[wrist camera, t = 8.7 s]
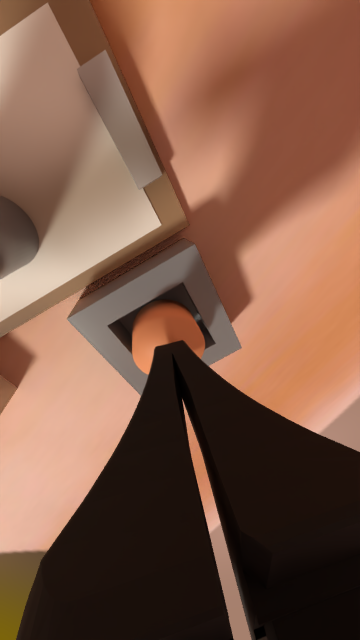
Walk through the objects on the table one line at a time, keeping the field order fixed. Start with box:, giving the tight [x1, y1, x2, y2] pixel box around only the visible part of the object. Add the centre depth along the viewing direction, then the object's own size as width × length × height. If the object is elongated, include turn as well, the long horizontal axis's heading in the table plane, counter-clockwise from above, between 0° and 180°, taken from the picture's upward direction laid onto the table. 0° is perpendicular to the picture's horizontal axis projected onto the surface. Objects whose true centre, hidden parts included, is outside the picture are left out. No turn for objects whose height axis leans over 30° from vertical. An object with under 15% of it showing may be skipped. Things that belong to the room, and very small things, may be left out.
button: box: [132, 299, 205, 375], centre depth 11 cm, size 4×4×2 cm
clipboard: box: [0, 0, 189, 337], centre depth 9 cm, size 9×13×1 cm
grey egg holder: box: [67, 238, 242, 395], centre depth 12 cm, size 7×7×2 cm
